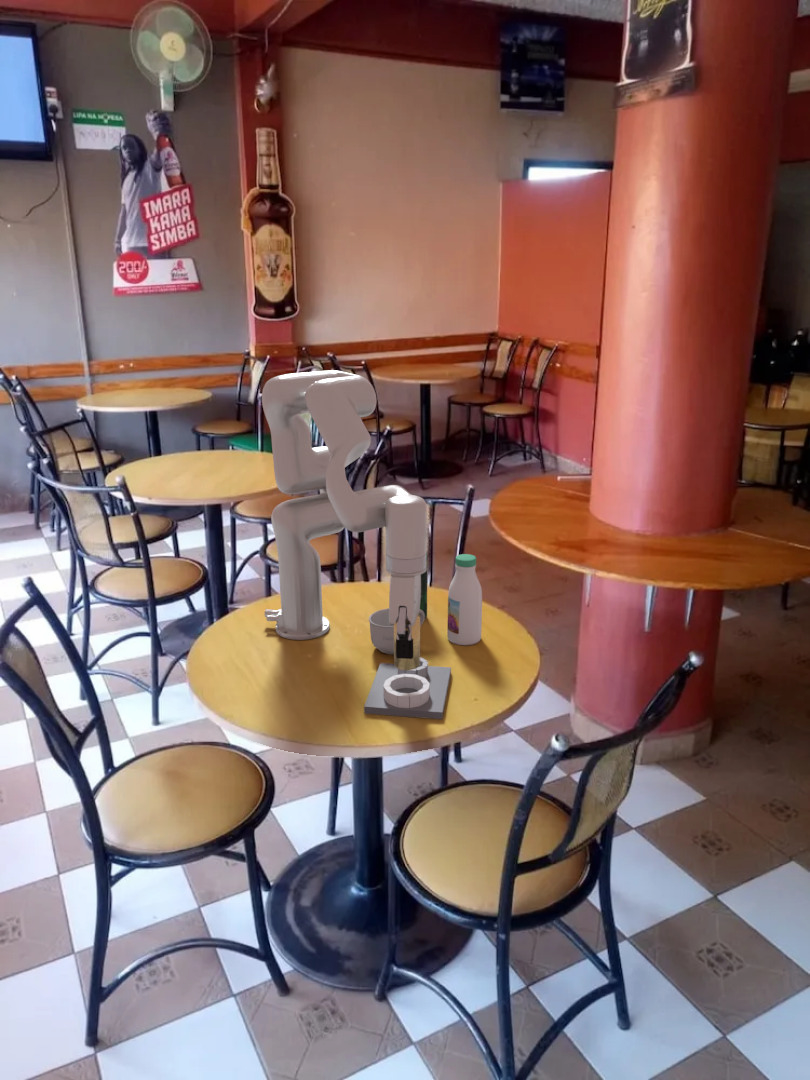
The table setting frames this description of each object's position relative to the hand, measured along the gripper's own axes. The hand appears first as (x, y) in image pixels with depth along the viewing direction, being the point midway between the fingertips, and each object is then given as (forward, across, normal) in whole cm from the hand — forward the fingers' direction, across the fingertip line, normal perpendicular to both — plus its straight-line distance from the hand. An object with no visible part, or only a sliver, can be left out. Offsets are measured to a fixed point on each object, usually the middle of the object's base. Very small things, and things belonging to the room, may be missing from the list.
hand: (407, 650), depth 157 cm
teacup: (+12, -24, -5) cm, 27 cm away
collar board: (+12, -4, 0) cm, 12 cm away
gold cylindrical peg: (+3, 0, 0) cm, 3 cm away
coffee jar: (+12, -41, -5) cm, 43 cm away
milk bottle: (+12, -30, +9) cm, 34 cm away
